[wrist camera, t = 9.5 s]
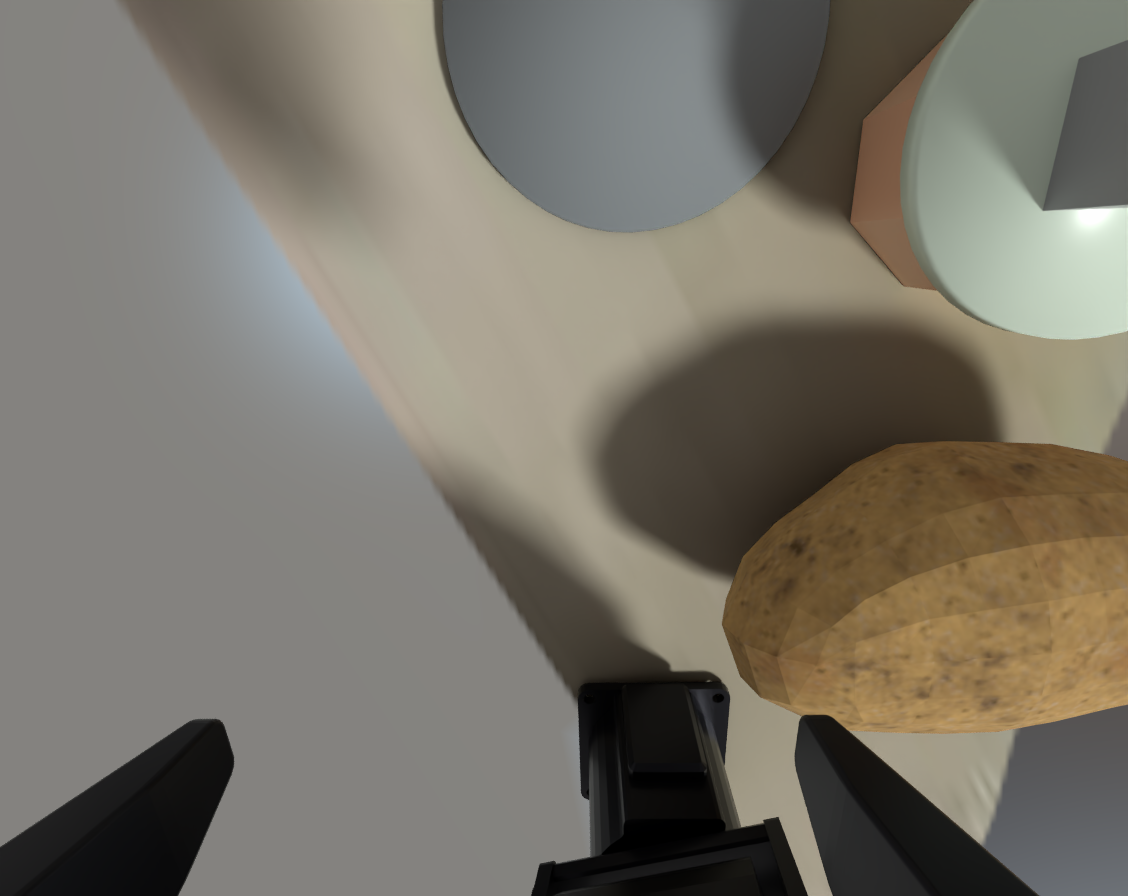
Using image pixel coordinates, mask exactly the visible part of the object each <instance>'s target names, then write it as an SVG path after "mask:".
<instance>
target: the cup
mask: <svg viewBox="0 0 1128 896" xmlns="http://www.w3.org/2000/svg"><path fill="white" fill-rule="evenodd" d="M946 37H947V35H946V36H945V37H944V38H943V39H942V40H941V41H940V42H939V43H938V44H937V45H936V46H935V47H934V48H933V49H932V50H931V51H930V52H929V53H928V54H927V55H926V57H925V58H924V59H923V60H922V61H921V62H920V63H919V64H918V65H917V66H916V67H915V68H914V69H913V70H912V71H911V72H910V73H909V74H908V75H907V76H906V77H905V78H904V79H903V80H902V81H901V82H900V83H899V84H898V85H897V86H896V87H895V88H894V89H893V90H892V91H891V92H890V93H889V94H888V95H887V96H886V97H885V98H884V99H883V100H882V101H881V102H880V103H879V104H878V105H877V106H876V107H875V108H874V109H873V110H872V111H871V112H870V113H869V114H868V115H867V116H866V118H865V119H864V120H863V127H862V135H861V142H860V150H859V158H858V166H857V173H856V181H855V189H854V197H853V204H852V212H851V220H850V223H851V224H852V225H853V226H854V227H855V229H856V230H857V231H858V232H859V233H860V235H861V236H862V237H863V238H864V239H865V240H866V242H867V243H868V244H869V245H870V246H871V248H872V249H873V250H874V251H875V252H876V253H877V255H878V256H879V257H880V258H881V259H882V260H883V262H884V263H885V264H886V265H887V266H888V268H889V269H890V270H891V271H892V272H893V273H894V275H895V276H896V277H897V278H898V279H899V281H900V282H901V283H902V284H903V285H904V286H905V287H913V288H921V289H929V290H937V289H936V288H935V287H934V286H933V285H932V283H931V282H930V281H929V279H928V278H927V276H926V275H925V273H924V272H923V271H922V269H921V267H920V265H919V263H918V261H917V259H916V257H915V255H914V253H913V251H912V249H911V245H910V242H909V239H908V236H907V233H906V229H905V226H904V220H903V214H902V208H901V197H900V170H901V159H902V149H903V144H904V140H905V135H906V130H907V126H908V121H909V118H910V115H911V112H912V109H913V106H914V103H915V100H916V97H917V94H918V91H919V89H920V87H921V84H922V82H923V80H924V78H925V76H926V73H927V71H928V69H929V67H930V64H931V62H932V61H933V59H934V57H935V56H936V54H937V52H938V50H939V49H940V47H941V45H942V43H943V42H944V40H945V38H946ZM937 291H938V290H937Z"/></svg>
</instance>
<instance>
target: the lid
mask: <svg viewBox="0 0 1128 896" xmlns="http://www.w3.org/2000/svg"><path fill="white" fill-rule="evenodd" d="M900 197H901V208H902V214H903V220H904V226H905V229H906V233H907V236H908V239H909V242H910V245H911V249H912V251H913V253H914V255H915V257H916V259H917V261H918V263H919V265H920V267H921V269H922V271H923V272H924V273H925V275H926V276H927V278H928V279H929V281H930V282H931V283H932V285H933V286H934V287H935V288H936V289H937V290H938V291H939V293H940V294H941V295H942V296H943V297H944V298H945V299H946V300H947V301H948V302H950V303H951V304H952V305H954V306H955V307H956V308H958V309H959V310H960V311H962V312H963V313H965V314H966V315H968V316H970V317H972V318H974V319H976V320H978V321H980V322H982V323H984V324H987V325H990V326H993V327H996V328H999V329H1002V330H1006V331H1011V332H1016V333H1021V334H1026V335H1031V336H1037V337H1043V338H1048V339H1071V340H1075V339H1086V338H1097V337H1103V336H1107V335H1112V334H1117V333H1122V332H1126V331H1128V0H974V1H973V2H972V3H971V4H970V5H969V6H968V7H967V9H966V10H965V11H964V13H963V14H962V16H961V17H960V18H959V20H958V21H957V22H956V24H955V25H954V27H953V28H952V29H951V31H950V32H949V34H948V35H947V37H946V38H945V40H944V42H943V43H942V45H941V47H940V49H939V50H938V52H937V54H936V56H935V57H934V59H933V61H932V62H931V64H930V67H929V69H928V71H927V73H926V76H925V78H924V80H923V82H922V84H921V87H920V89H919V91H918V94H917V97H916V100H915V103H914V106H913V109H912V112H911V115H910V118H909V121H908V126H907V130H906V135H905V140H904V144H903V149H902V159H901V170H900Z"/></svg>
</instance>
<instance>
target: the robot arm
mask: <svg viewBox="0 0 1128 896" xmlns="http://www.w3.org/2000/svg"><path fill="white" fill-rule="evenodd" d="M718 693H719V694H720V695H718V696H714V695H715V694H718ZM589 694H590V695H593V696H592V697H587V696H586V695H589ZM729 705H730V695H729V692H728V689H727V687H726V686H725V685H724V684H723V683H720V682H666V683H587V684H584V685H582V686H581V687H580V688H579V690H578V714H579V745H580V773H581V794H582V796H583V797H584V798H586V799H588V800H589V803H590V857H587V858H582V859H577V860H572V861H567V862H562V863H557V864H556V862H555V861H551V862H546V863H541V864H540V865H539V868H538V873H537V877H536V881H535V885H534V888H533V890H532V895H531V896H808V895H807V892H806V889H805V887H804V884H803V881H802V879H801V876H800V873H799V871H798V868H797V865H796V863H795V860H794V857H793V855H792V852H791V849H790V847H789V844H788V841H787V839H786V836H785V833H784V831H783V828H782V825H781V823H780V820H779V817H776V818H771V819H766V820H763V822H764V823H761V824H756V825H751V826H746V827H741V825H740V821H739V817H738V814H737V810H736V807H735V803H734V799H733V796H732V792H731V789H730V785H729V781H728V778H727V774H726V771H725V767H724V765H725V753H726V741H727V729H728V717H729ZM795 767H796V772H797V775H798V779H799V782H800V786H801V789H802V793H803V797H804V800H805V804H806V807H807V811H808V814H809V818H810V821H811V825H812V828H813V832H814V835H815V839H816V842H817V846H818V849H819V853H820V856H821V860H822V863H823V867H824V870H825V873H826V877H827V880H828V883H829V886H830V889H831V892H832V895H833V896H1039V895H1038V894H1037V893H1036V892H1035V891H1033V890H1032V889H1031V888H1030V887H1029V886H1028V885H1026V884H1025V883H1024V882H1023V881H1022V880H1021V879H1020V878H1018V877H1017V876H1016V875H1015V874H1014V873H1013V872H1011V871H1010V870H1009V869H1008V868H1007V867H1006V866H1004V865H1003V864H1002V863H1001V862H1000V861H999V860H998V859H996V858H995V857H994V856H993V855H992V854H990V853H989V852H988V851H987V850H986V849H985V848H984V847H982V846H981V845H980V844H979V843H978V842H977V841H976V840H974V839H973V838H972V837H971V836H970V835H969V834H967V833H966V832H965V831H964V830H963V829H962V828H960V827H959V826H958V825H957V824H956V823H955V822H954V821H952V820H951V819H950V818H949V817H948V816H947V815H945V814H944V813H943V812H942V811H941V810H940V809H938V808H937V807H936V806H935V805H934V804H933V803H932V802H930V801H929V800H928V799H927V798H926V797H925V796H923V795H922V794H921V793H920V792H919V791H918V790H916V789H915V788H914V787H913V786H912V785H911V784H910V783H908V782H907V781H906V780H905V779H904V778H903V777H901V776H900V775H899V774H898V773H897V772H896V771H894V770H893V769H892V768H891V767H890V766H889V765H887V764H886V763H885V762H884V761H883V760H882V759H881V758H879V757H878V756H877V755H876V754H875V753H874V752H872V751H871V750H870V749H869V748H868V747H867V746H865V745H864V744H863V743H862V742H861V741H860V740H859V739H857V738H856V737H855V736H854V735H853V734H852V733H850V732H849V731H848V730H847V729H846V728H845V727H843V726H842V725H841V724H840V723H839V722H838V721H837V720H835V719H834V718H833V717H831V716H829V715H803V716H802V717H801V719H800V721H799V727H798V734H797V741H796V749H795ZM233 768H234V755H233V752H232V749H231V746H230V742H229V739H228V736H227V733H226V730H225V726H224V724H223V723H222V722H221V721H220V720H218V719H195V720H192V721H189V722H188V723H186V724H185V725H183V726H182V727H180V728H179V729H177V730H176V731H174V732H173V733H171V734H170V735H168V736H167V737H165V738H163V739H162V740H160V741H159V742H157V743H156V744H155V745H153V746H151V747H150V748H148V749H147V750H145V751H144V752H142V753H141V754H140V755H138V756H136V757H135V758H133V759H132V760H130V761H129V762H128V763H126V764H124V765H123V766H121V767H120V768H118V769H117V770H115V771H114V772H112V773H111V774H110V775H108V776H106V777H105V778H103V779H102V780H101V781H99V782H97V783H96V784H94V785H93V786H91V787H90V788H88V789H87V790H85V791H84V792H82V793H81V794H79V795H78V796H76V797H75V798H73V799H72V800H70V801H69V802H67V803H66V804H64V805H63V806H61V807H60V808H58V809H57V810H55V811H54V812H52V813H51V814H49V815H48V816H46V817H45V818H43V819H42V820H40V821H38V822H37V823H35V824H34V825H33V826H31V827H29V828H28V829H27V830H25V831H24V832H22V833H21V834H19V835H17V836H16V837H14V838H13V839H11V840H10V841H8V842H7V843H5V844H4V845H2V846H1V847H0V896H178V895H179V893H180V891H181V889H182V887H183V885H184V883H185V881H186V879H187V877H188V874H189V872H190V870H191V868H192V865H193V863H194V861H195V859H196V857H197V854H198V852H199V850H200V847H201V845H202V843H203V840H204V838H205V835H206V833H207V831H208V829H209V826H210V824H211V822H212V819H213V817H214V815H215V812H216V810H217V808H218V805H219V803H220V801H221V798H222V796H223V794H224V791H225V789H226V786H227V784H228V782H229V779H230V777H231V775H232V772H233Z"/></svg>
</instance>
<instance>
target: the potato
mask: <svg viewBox="0 0 1128 896" xmlns="http://www.w3.org/2000/svg"><path fill="white" fill-rule="evenodd" d="M722 626H723V629H724V632H725V635H726V637H727V640H728V643H729V646H730V649H731V652H732V654H733V657H734V660H735V663H736V666H737V669H738V671H739V674H740V677H741V678H742V679H743V680H744V681H745V682H746V683H747V684H748V685H749V686H750V687H751V688H752V689H753V690H754V691H755V692H756V693H757V694H758V695H759V696H760V697H761V698H763V699H766V700H768V701H770V702H772V703H774V704H776V705H779V706H781V707H783V708H785V709H787V710H789V711H792V712H794V713H796V714H798V715H800V716H803V715H829V716H831V717H833V718H834V719H835V720H837V721H838V722H839V723H840V724H841V725H842V726H843V727H845V728H846V729H847V730H852V731H872V732H895V733H939V734H947V733H974V732H999V731H1004V730H1010V729H1015V728H1021V727H1026V726H1032V725H1037V724H1043V723H1048V722H1054V721H1059V720H1062V719H1067V718H1070V717H1075V716H1079V715H1083V714H1088V713H1092V712H1096V711H1100V710H1104V709H1108V708H1112V707H1117V706H1122V705H1127V704H1128V461H1125V460H1122V459H1119V458H1115V457H1112V456H1109V455H1104V454H1099V453H1094V452H1089V451H1084V450H1079V449H1073V448H1068V447H1063V446H1058V445H1053V444H1034V443H1005V442H964V441H938V442H922V443H907V444H895V445H893V446H891V447H889V448H886V449H884V450H882V451H880V452H878V453H875V454H873V455H871V456H869V457H867V458H864V459H862V460H860V461H858V462H856V463H853V464H852V465H850V466H849V467H848V468H847V469H845V470H844V471H843V472H842V473H840V474H839V475H838V476H837V477H835V478H834V479H833V480H832V481H830V482H829V483H828V484H826V485H825V486H824V487H823V488H821V489H820V490H819V491H818V492H816V493H815V494H814V495H813V496H811V497H810V498H808V499H807V500H806V501H804V502H803V503H802V504H800V505H799V506H798V507H796V508H795V509H793V510H792V511H791V512H789V513H788V514H787V515H785V516H784V517H783V518H781V519H780V520H778V521H777V522H776V523H775V524H774V525H773V526H772V527H771V528H770V529H769V530H768V531H767V532H766V533H765V534H764V535H763V536H762V537H761V538H760V539H759V540H758V541H757V542H756V543H755V545H754V546H753V547H752V548H751V549H750V550H749V551H748V552H747V553H746V554H745V555H744V556H743V557H742V560H741V563H740V565H739V568H738V570H737V573H736V575H735V578H734V580H733V583H732V585H731V588H730V591H729V593H728V596H727V598H726V603H725V609H724V614H723V620H722Z"/></svg>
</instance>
